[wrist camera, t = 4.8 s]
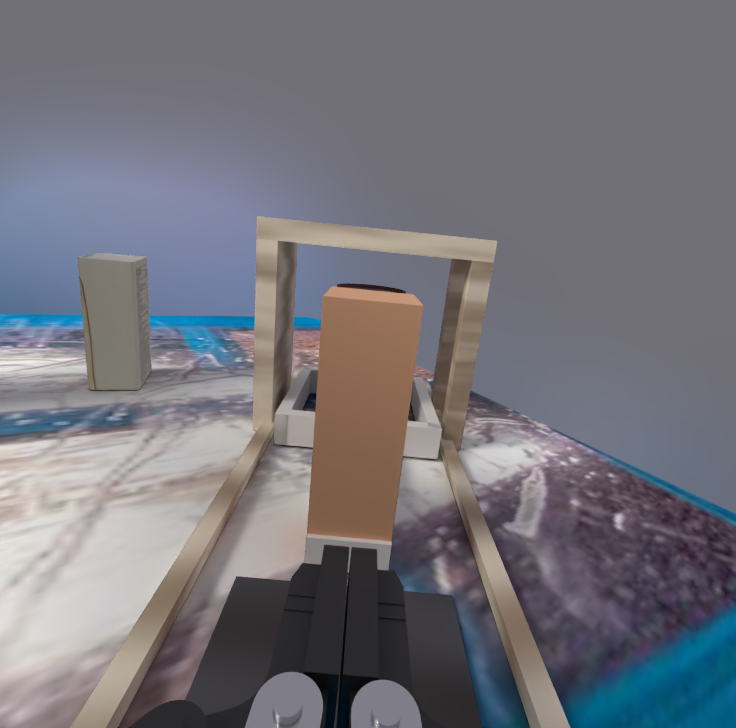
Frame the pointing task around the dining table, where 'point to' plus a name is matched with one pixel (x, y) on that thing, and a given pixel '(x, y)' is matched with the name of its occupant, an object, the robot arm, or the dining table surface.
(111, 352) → the skincare box
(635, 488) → the dining table surface
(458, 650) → the tunnel rail
